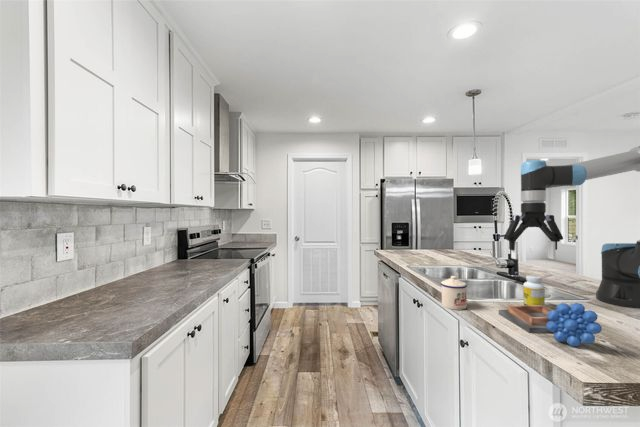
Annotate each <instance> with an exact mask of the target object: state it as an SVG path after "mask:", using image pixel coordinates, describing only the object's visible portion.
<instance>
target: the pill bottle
mask: <svg viewBox="0 0 640 427" xmlns="http://www.w3.org/2000/svg"><path fill="white" fill-rule="evenodd" d="M525 280H526V281H525V282H524V283H523V284H522V285H523V305H544V306H546V303H545V302H546V300H545V297H546V296H545V293H546V292H545V288H546V287H545V285H544V283H541V282H542V281H543V280H542V277H541V276H538V275H534V274H533V275H530V274H527V275H525Z"/></svg>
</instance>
